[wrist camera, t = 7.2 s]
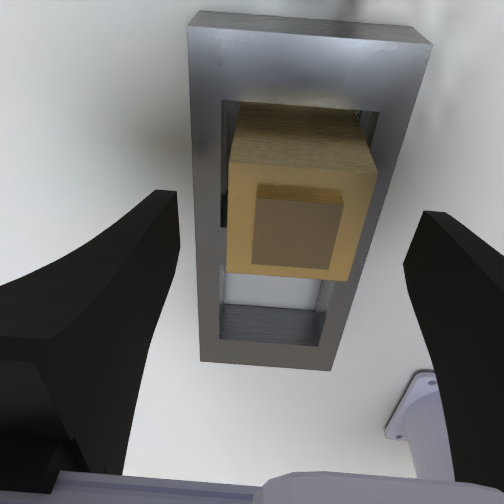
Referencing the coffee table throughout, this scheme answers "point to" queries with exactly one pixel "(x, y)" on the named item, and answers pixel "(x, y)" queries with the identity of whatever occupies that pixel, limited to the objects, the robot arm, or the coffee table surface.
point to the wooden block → (297, 191)
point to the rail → (302, 94)
